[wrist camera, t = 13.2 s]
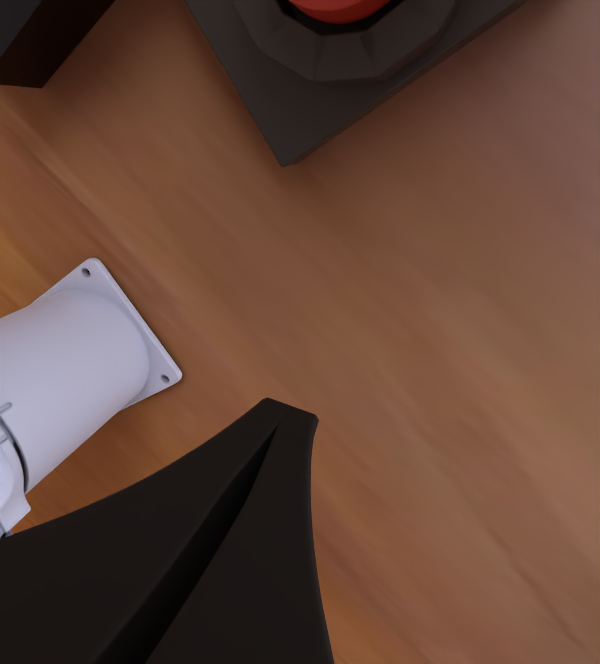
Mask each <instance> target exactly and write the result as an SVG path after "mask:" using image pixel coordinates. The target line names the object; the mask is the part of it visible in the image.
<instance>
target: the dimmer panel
mask: <svg viewBox="0 0 600 664" xmlns="http://www.w3.org/2000/svg"><path fill="white" fill-rule="evenodd" d="M113 2H114V0H0V85H10V86H21V87H32V88H42V87H43V86H44V84H45V83H46V82H47V81H48V80H49V78H50V77H51V76H52V75H53V74H54V72H55V71H56V70H57V69H58V68H59V66H60V65H61V64H62V63H63V62H64V60H65V59H66V58H67V57H68V56H69V54H70V53H71V52H72V51H73V50H74V48H75V47H76V46H77V45H78V44H79V42H80V41H81V40H82V39H83V38H84V36H85V35H86V34H87V33H88V32H89V30H90V29H91V28H92V27H93V26H94V24H95V23H96V22H97V21H98V20H99V18H100V17H101V16H102V15H103V14H104V12H105V11H106V10H107V9H108V8H109V6H110V5H111V4H112V3H113Z"/></svg>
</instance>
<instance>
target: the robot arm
mask: <svg viewBox="0 0 600 664" xmlns="http://www.w3.org/2000/svg"><path fill="white" fill-rule="evenodd" d="M87 269H88V270H89V272H90V274H89V273H88V272H87ZM165 376H167V377H168V379H167V378H166V377H165ZM181 378H182V373H181V371H180V369H179V368H178V366H177V365H176V364H175V362H174V361H173V359H172V358H171V357H170V355H169V354H168V353H167V351H166V350H165V348H164V347H163V346H162V344H161V343H160V342H159V340H158V339H157V338H156V336H155V335H154V333H153V332H152V331H151V329H150V328H149V327H148V325H147V324H146V322H145V321H144V320H143V318H142V317H141V316H140V314H139V313H138V311H137V310H136V309H135V307H134V306H133V305H132V303H131V302H130V300H129V299H128V298H127V296H126V295H125V294H124V292H123V291H122V290H121V288H120V287H119V285H118V284H117V283H116V281H115V280H114V279H113V277H112V276H111V274H110V273H109V272H108V270H107V269H106V268H105V266H104V265H103V263H102V262H101V261H100V260H99V259H97V258H90V259H88V260H86V261H84V262H83V263H82V264H81V265H79V266H78V267H77V268H75V269H74V270H73V271H72V272H70V273H69V274H68V275H67V276H65V277H64V278H63V279H62V280H60V281H59V282H58V283H57V284H55V285H54V286H53V287H51V288H50V289H49V290H48V291H46V292H45V293H44V294H43V295H41V296H40V297H39V298H38V299H36V300H35V301H34V302H33V303H31V304H30V305H29V306H27V307H24V308H22V309H20V310H18V311H15V312H13V313H11V314H9V315H6V316H4V317H2V318H0V664H334V659H333V655H332V650H331V645H330V640H329V635H328V630H327V625H326V621H325V616H324V611H323V606H322V600H321V594H320V587H319V581H318V574H317V567H316V559H315V551H314V542H313V530H312V515H311V456H312V446H313V439H314V435H315V431H316V428H317V425H318V421H319V420H318V418H317V416H316V415H315V414H312V413H309V412H307V411H304V410H301V409H298V408H295V407H293V406H290V405H287V404H284V403H282V402H279V401H276V400H273V399H270V398H268V397H267V398H265V399H262V400H261V401H260V402H259V403H258V404H256V405H255V406H254V407H253V408H252V409H250V410H249V411H248V412H247V413H245V414H244V415H243V416H241V417H240V418H239V419H237V420H236V421H235V422H233V423H232V424H231V425H229V426H228V427H227V428H225V429H224V430H222V431H221V432H219V433H218V434H217V435H215V436H214V437H212V438H211V439H209V440H208V441H207V442H205V443H204V444H202V445H201V446H199V447H197V448H196V449H194V450H193V451H191V452H189V453H188V454H186V455H184V456H183V457H181V458H180V459H178V460H176V461H175V462H173V463H171V464H170V465H168V466H166V467H164V468H163V469H161V470H159V471H157V472H156V473H154V474H152V475H150V476H148V477H146V478H144V479H142V480H140V481H139V482H137V483H135V484H133V485H131V486H129V487H127V488H125V489H123V490H121V491H118V492H116V493H114V494H112V495H110V496H107V497H105V498H103V499H101V500H99V501H97V502H94V503H92V504H90V505H88V506H85V507H83V508H81V509H78V510H76V511H74V512H71V513H69V514H66V515H64V516H61V517H58V518H56V519H53V520H50V521H48V522H45V523H42V524H40V525H37V526H34V527H31V528H29V529H26V530H23V531H21V532H18V533H15V534H13V533H12V531H11V530H10V529H11V528H12V527H13V526H15V525H16V524H17V523H18V522H19V521H20V520H21V519H22V518H23V517H24V516H25V515H26V514H27V513H28V512H29V511H30V510H31V507H30V505H29V504H28V502H27V500H26V498H25V494H27V493H28V492H29V491H30V490H31V489H32V488H33V487H34V486H36V485H37V484H38V483H39V482H40V481H41V480H42V479H43V478H44V477H46V476H47V475H48V474H49V473H50V472H51V471H52V470H53V469H55V468H56V467H57V466H58V465H59V464H60V463H61V462H62V461H63V460H65V459H66V458H67V457H68V456H69V455H70V454H71V453H72V452H74V451H75V450H76V449H77V448H78V447H79V446H80V445H81V444H82V443H84V442H85V441H86V440H87V439H88V438H89V437H90V436H91V435H93V434H94V433H95V432H96V431H97V430H98V429H99V428H100V427H102V426H103V425H104V424H105V423H106V422H107V421H108V420H109V419H110V418H112V417H113V416H114V415H115V414H116V413H117V412H118V411H120V410H122V409H124V408H127V407H129V406H131V405H133V404H135V403H137V402H139V401H141V400H143V399H145V398H147V397H149V396H151V395H153V394H155V393H157V392H159V391H161V390H163V389H165V388H167V387H169V386H171V385H173V384H175V383H177V382H178V381H179V380H180V379H181Z"/></svg>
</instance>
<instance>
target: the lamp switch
mask: <svg viewBox="0 0 600 664" xmlns="http://www.w3.org/2000/svg"><path fill="white" fill-rule="evenodd" d="M289 1H290V2H291V3H292V4H294V5H295V6H296V7H297V8H299V9H300V10H301V11H302V12H304V13H305V14H307V15H308V16H310V17H312V18H314V19H316V20H318V21H322V22H325V23H331V24H347V23H352V22H356V21H359V20H362V19H365V18H367V17H369V16H370V15H372V14H374V13H376V12H377V11H379V10H380V9H381V8H383V7H384V6H385V5H386V4H387V3H389V2H390V1H391V0H289Z"/></svg>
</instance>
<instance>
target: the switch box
mask: <svg viewBox="0 0 600 664" xmlns="http://www.w3.org/2000/svg"><path fill="white" fill-rule="evenodd" d="M527 1H529V0H391V1H390V2H389V3H387V4H386V5H385V6H384V7H383V8H381V9H380V10H379V11H377V12H376V13H374V14H372V15H370V16H369V17H367V18H365V19H362V20H359V21H356V22H352V23H347V24H331V23H325V22H322V21H318V20H316V19H314V18H312V17H310V16H308V15H307V14H305V13H304V12H302V11H301V10H300V9H299V8H297V7H296V6H295V5H294V4H292V3H291V2H290V1H289V0H185V2H186V4H187V6H188V7H189V9H190V11H191V13H192V14H193V16H194V18H195V19H196V21H197V23H198V25H199V26H200V28H201V30H202V31H203V33H204V35H205V37H206V38H207V40H208V42H209V43H210V45H211V47H212V49H213V50H214V52H215V54H216V55H217V57H218V59H219V61H220V62H221V64H222V66H223V67H224V69H225V71H226V73H227V74H228V76H229V78H230V79H231V81H232V83H233V85H234V86H235V88H236V90H237V91H238V93H239V95H240V97H241V98H242V100H243V102H244V103H245V105H246V107H247V109H248V110H249V112H250V114H251V115H252V117H253V119H254V121H255V122H256V124H257V126H258V127H259V129H260V131H261V133H262V134H263V136H264V138H265V140H266V141H267V143H268V145H269V146H270V148H271V150H272V152H273V153H274V155H275V157H276V158H277V160H278V162H279V164H280V165H281V167H286V166H289V165H293V164H296V163H297V162H299V161H300V160H302V159H303V158H305V157H306V156H307V155H309V154H310V153H312V152H313V151H315V150H316V149H317V148H319V147H320V146H322V145H323V144H325V143H326V142H327V141H329V140H330V139H332V138H333V137H335V136H336V135H337V134H339V133H340V132H342V131H343V130H345V129H346V128H347V127H349V126H350V125H352V124H353V123H354V122H356V121H357V120H359V119H360V118H362V117H363V116H364V115H366V114H367V113H369V112H370V111H372V110H373V109H374V108H376V107H377V106H379V105H380V104H382V103H383V102H384V101H386V100H387V99H389V98H390V97H392V96H393V95H394V94H396V93H397V92H399V91H400V90H402V89H403V88H404V87H406V86H407V85H409V84H410V83H412V82H413V81H414V80H416V79H417V78H419V77H420V76H422V75H423V74H424V73H426V72H427V71H429V70H430V69H432V68H433V67H434V66H436V65H437V64H439V63H440V62H442V61H443V60H444V59H446V58H447V57H449V56H450V55H452V54H453V53H454V52H456V51H457V50H459V49H460V48H462V47H463V46H464V45H466V44H467V43H469V42H470V41H471V40H473V39H474V38H476V37H477V36H479V35H480V34H481V33H483V32H484V31H486V30H487V29H489V28H490V27H491V26H493V25H494V24H496V23H497V22H499V21H500V20H501V19H503V18H504V17H506V16H507V15H509V14H510V13H511V12H513V11H514V10H516V9H517V8H519V7H520V6H521V5H523V4H524V3H526V2H527Z"/></svg>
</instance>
